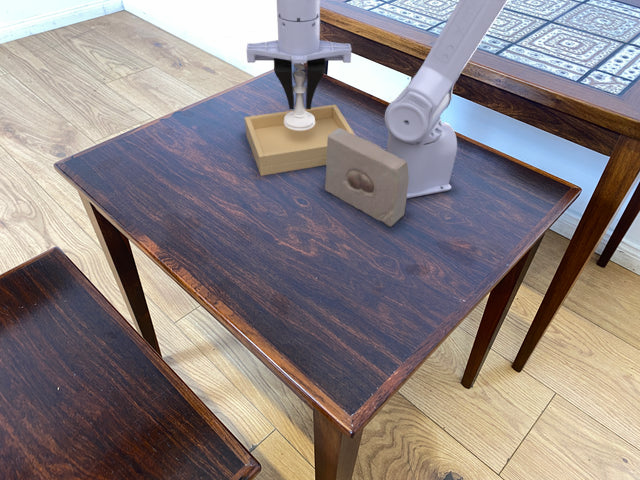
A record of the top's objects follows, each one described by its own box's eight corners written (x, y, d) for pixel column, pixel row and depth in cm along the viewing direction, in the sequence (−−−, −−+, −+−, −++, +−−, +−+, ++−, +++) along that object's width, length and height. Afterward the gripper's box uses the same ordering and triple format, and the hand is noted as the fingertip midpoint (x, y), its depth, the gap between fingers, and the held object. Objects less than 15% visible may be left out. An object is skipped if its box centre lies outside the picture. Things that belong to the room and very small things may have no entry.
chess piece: (306, 134, 76) (307, 71, 69) (277, 125, 77) (275, 63, 70) (320, 119, 79) (322, 58, 72) (293, 111, 81) (292, 50, 74)
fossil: (323, 191, 73) (324, 135, 67) (338, 180, 75) (341, 124, 69) (390, 228, 68) (399, 171, 61) (405, 215, 70) (415, 159, 63)
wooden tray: (335, 122, 87) (335, 104, 85) (357, 159, 79) (359, 141, 77) (246, 135, 84) (244, 116, 81) (260, 176, 76) (259, 156, 73)
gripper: (241, 25, 64) (250, 119, 73) (355, 25, 64) (349, 119, 74) (245, 5, 69) (253, 96, 78) (351, 5, 69) (346, 95, 79)
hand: (299, 105), depth 76 cm, fingers closed on chess piece
